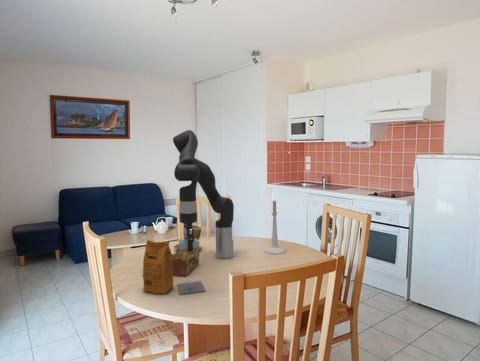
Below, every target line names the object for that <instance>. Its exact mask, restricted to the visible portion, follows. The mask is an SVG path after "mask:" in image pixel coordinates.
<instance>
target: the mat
mask: <svg viewBox="0 0 480 361" xmlns="http://www.w3.org/2000/svg"><path fill="white" fill-rule="evenodd" d="M176 286H177V290H178V294H179V296H182V295H184V296H185V295H190V294H198V293H200V294H201V293H206V287H205V286H204V283H203V282H202V280H198V281H189V282H182V283H177V284H176Z"/></svg>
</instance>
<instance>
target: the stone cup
mask: <svg viewBox="0 0 480 361" xmlns="http://www.w3.org/2000/svg"><path fill="white" fill-rule="evenodd" d="M193 226H194V239H198V240H199V241H200V238H201V234H202V228H201V227H200V226H198V225H193ZM190 239H192V238H190ZM183 240H185V235H184V234H183ZM173 249H175V250H177V251H179V250H180V246H179V243H178V244H175V245H174V246H173ZM201 250H202V247H199V248H198V251H199V252H200V251H201Z"/></svg>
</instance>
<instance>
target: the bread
mask: <svg viewBox="0 0 480 361" xmlns="http://www.w3.org/2000/svg"><path fill="white" fill-rule="evenodd" d="M198 255H199V256H200V250H199V251H198ZM184 256H185V260H182V257H181V251H180V250H177V251H176V252H175V253H173V254H172V257H173V261H172V263H173V276H176V277H177V276H178V277H187V276H188V275H189V274H190V273H191V272H193V271H194V270H195V269H196V267H197V266H198V265H199V263H200V257H199V258H198V259H196V256H194V248H193V251H192V252H188V249H184Z"/></svg>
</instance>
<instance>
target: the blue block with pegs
mask: <svg viewBox="0 0 480 361" xmlns="http://www.w3.org/2000/svg"><path fill="white" fill-rule="evenodd" d="M189 240H192V239H189ZM178 244H179V246H180V251H181V257H182V260H185V256H184V249H188V247H187V239H185V240H184V239H179V240H178ZM199 247H200V239H199V240H198V239H194V242H193V248H194V256H196V259H198V258H199V259H200V254H199V255H198V248H199Z"/></svg>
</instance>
